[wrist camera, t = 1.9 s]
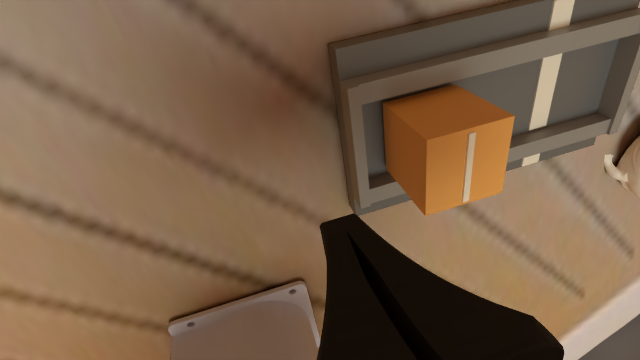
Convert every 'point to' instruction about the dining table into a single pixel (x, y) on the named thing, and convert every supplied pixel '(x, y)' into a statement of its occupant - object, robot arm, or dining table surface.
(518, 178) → the dining table surface
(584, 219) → the dining table surface
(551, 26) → the fader console
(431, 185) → the fader tab
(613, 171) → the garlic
